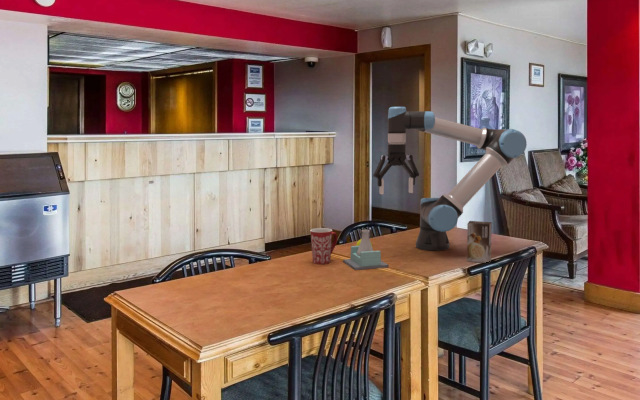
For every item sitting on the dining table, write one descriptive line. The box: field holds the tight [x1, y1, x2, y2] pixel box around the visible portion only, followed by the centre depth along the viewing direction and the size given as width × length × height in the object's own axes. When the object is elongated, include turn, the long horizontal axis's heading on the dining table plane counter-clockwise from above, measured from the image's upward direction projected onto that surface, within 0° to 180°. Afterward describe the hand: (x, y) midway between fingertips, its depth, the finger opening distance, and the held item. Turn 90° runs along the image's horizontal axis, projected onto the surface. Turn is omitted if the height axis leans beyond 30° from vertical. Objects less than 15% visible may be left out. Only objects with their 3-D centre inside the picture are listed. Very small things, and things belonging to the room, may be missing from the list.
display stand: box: [342, 245, 389, 271], centre depth 225 cm, size 14×14×6 cm
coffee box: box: [466, 220, 493, 264], centre depth 230 cm, size 9×6×16 cm
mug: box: [309, 227, 338, 265], centre depth 230 cm, size 13×9×14 cm
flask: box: [356, 229, 374, 256], centre depth 224 cm, size 7×7×10 cm
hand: (396, 193), depth 240 cm, fingers open, 13 cm apart
